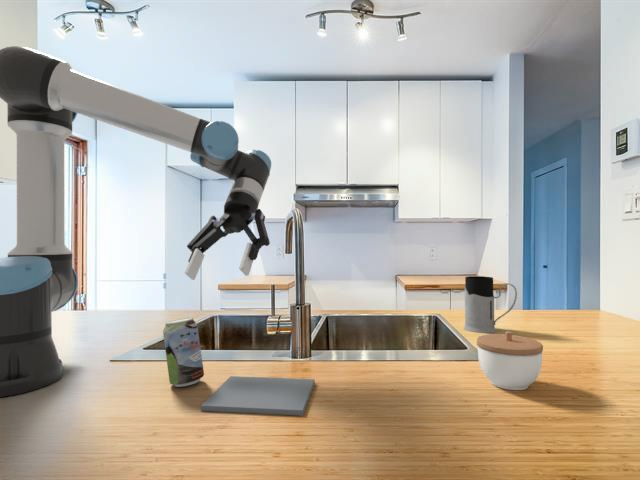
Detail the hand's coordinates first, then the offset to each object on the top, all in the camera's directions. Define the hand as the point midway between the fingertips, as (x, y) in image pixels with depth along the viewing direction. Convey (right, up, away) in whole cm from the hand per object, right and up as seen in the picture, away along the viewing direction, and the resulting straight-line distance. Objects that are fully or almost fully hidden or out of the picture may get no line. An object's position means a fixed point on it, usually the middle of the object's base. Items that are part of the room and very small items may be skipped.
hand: (215, 274), depth 81 cm
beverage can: (-3, -20, -9) cm, 22 cm away
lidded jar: (+56, -19, -11) cm, 60 cm away
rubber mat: (+12, -19, -15) cm, 27 cm away
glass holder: (+70, -19, +30) cm, 78 cm away
